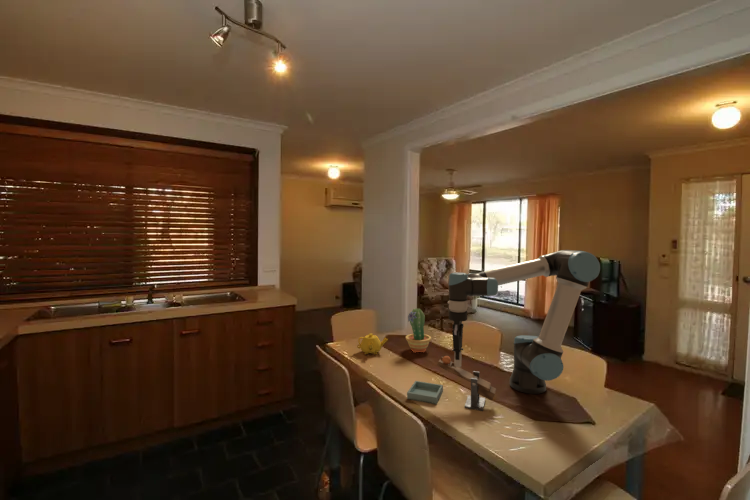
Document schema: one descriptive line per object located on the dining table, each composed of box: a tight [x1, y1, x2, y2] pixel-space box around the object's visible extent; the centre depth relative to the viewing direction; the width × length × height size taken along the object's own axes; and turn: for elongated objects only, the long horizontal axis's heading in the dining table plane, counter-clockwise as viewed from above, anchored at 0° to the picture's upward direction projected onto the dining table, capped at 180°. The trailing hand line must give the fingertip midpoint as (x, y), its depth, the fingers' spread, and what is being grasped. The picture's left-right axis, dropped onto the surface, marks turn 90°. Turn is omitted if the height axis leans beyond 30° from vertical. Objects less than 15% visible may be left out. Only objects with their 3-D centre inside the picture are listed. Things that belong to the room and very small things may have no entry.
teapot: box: [356, 333, 389, 356], centre depth 204 cm, size 14×14×11 cm
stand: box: [464, 370, 486, 412], centre depth 142 cm, size 7×10×12 cm
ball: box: [442, 355, 452, 365], centre depth 146 cm, size 4×4×4 cm
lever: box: [436, 356, 497, 401], centre depth 143 cm, size 24×6×5 cm, turn 68°
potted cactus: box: [405, 308, 432, 353], centre depth 207 cm, size 15×15×25 cm
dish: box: [406, 380, 444, 405], centre depth 150 cm, size 13×13×3 cm
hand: (457, 366), depth 144 cm, fingers closed
